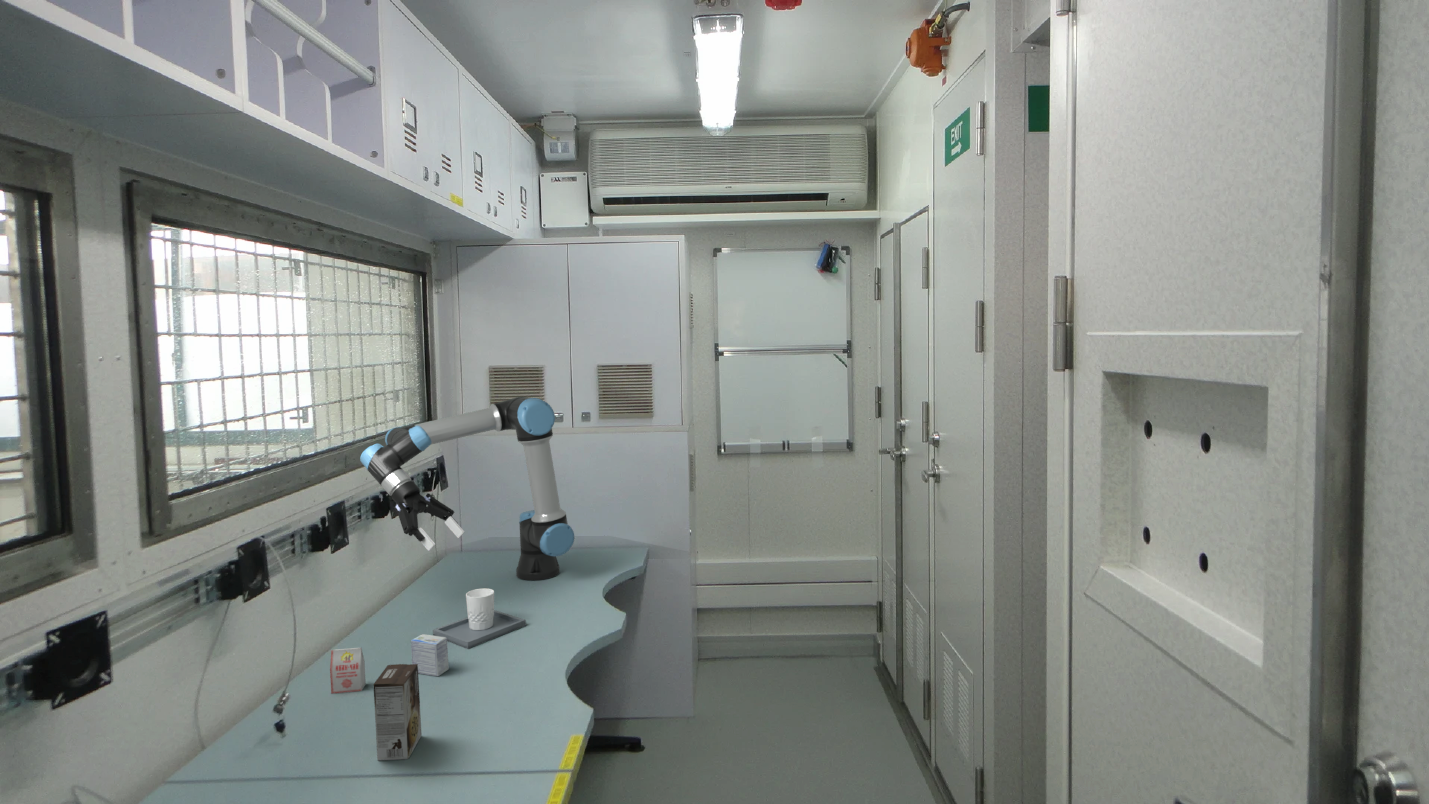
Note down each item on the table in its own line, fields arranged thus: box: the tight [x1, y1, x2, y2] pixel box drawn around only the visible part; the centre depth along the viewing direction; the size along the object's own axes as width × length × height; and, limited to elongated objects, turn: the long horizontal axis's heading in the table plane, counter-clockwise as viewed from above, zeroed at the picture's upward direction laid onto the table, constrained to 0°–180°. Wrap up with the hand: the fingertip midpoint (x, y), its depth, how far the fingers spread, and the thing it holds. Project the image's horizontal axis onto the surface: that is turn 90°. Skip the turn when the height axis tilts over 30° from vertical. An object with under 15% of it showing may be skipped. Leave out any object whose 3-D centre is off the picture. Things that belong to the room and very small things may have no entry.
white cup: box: [465, 587, 495, 630], centre depth 220 cm, size 8×8×10 cm
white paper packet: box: [329, 647, 367, 695], centre depth 182 cm, size 4×7×10 cm, turn 100°
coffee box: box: [372, 663, 422, 761], centre depth 155 cm, size 9×6×16 cm
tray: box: [432, 609, 527, 650], centre depth 218 cm, size 20×16×2 cm
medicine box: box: [410, 633, 450, 677], centre depth 191 cm, size 8×4×9 cm, turn 71°
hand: (447, 541), depth 221 cm, fingers open, 13 cm apart
